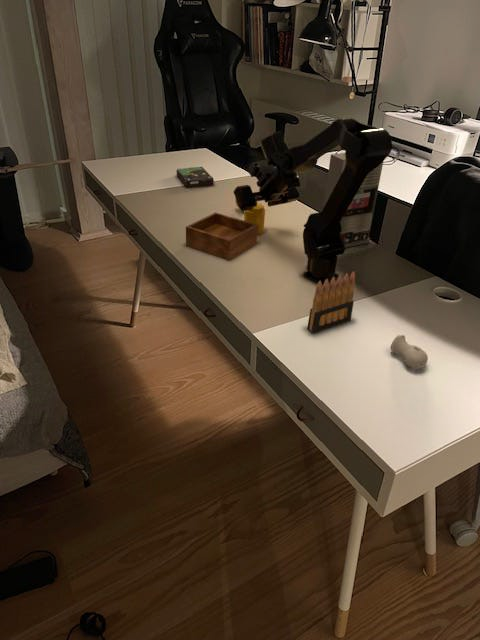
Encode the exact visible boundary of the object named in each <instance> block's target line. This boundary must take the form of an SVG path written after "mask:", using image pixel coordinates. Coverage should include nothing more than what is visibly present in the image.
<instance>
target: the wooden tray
mask: <svg viewBox="0 0 480 640" xmlns="http://www.w3.org/2000/svg"><path fill="white" fill-rule="evenodd" d="M257 231H258V225H257V224H253V223H250V222H246V221H244V219H243V220H242V219H240V218H236V217H233V216H229V215H226V214H222V213H219V212H213V213H210V214H209V215H207V216H205V217H203V218H201V219H199V220H197V221H195V222H193V223H190V224H189V225H186V226H185V245H186V246H187V247H189V248H192V249H195V250H198V251H200V252H201V251H202V252H204V253H207V254H211V255H213V256H216V257H219V258H222V259H225V260H227V261H230V260H232V259H234V258H235V257H237V256H238V255H241V253H243V252H244V251H246V250H248V249H249V248H251V247H253V246H254V245H256V244H257V243H258V234H257Z"/></svg>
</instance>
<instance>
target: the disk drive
mask: <svg viewBox="0 0 480 640" xmlns="http://www.w3.org/2000/svg"><path fill="white" fill-rule="evenodd" d="M175 172H176V177H178V179H179V180H180V181H181V183H182V184H183V185H184V186H185V187H186V188H198V187H211V186H214V185H215V180H214V178H213V176H212V175H211V174H210V173H209V172H208V171H207V170H206V169H205V168H204V167H203V166H195V167H194V166H193V167H185V168H177V169H176V171H175Z"/></svg>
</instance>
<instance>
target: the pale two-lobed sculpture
mask: <svg viewBox="0 0 480 640" xmlns="http://www.w3.org/2000/svg"><path fill="white" fill-rule="evenodd" d="M390 351H391V354H399V355H400V356H401V357H402V358H403V359H404V361H405V365H406V366H407V367H410V368H412V369H416V370H418V369H422V368H424V367H425V366H426V365H427V363H428V360H429V356H428V354H427V352H426V351H424V350H423V349H422V348H421V347H419V346H417V345H414V344H410V343H408V342H407V340H406V335H403V334H397V335H396V336H395V338H394V339H393V341H392V342H391V344H390Z"/></svg>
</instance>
